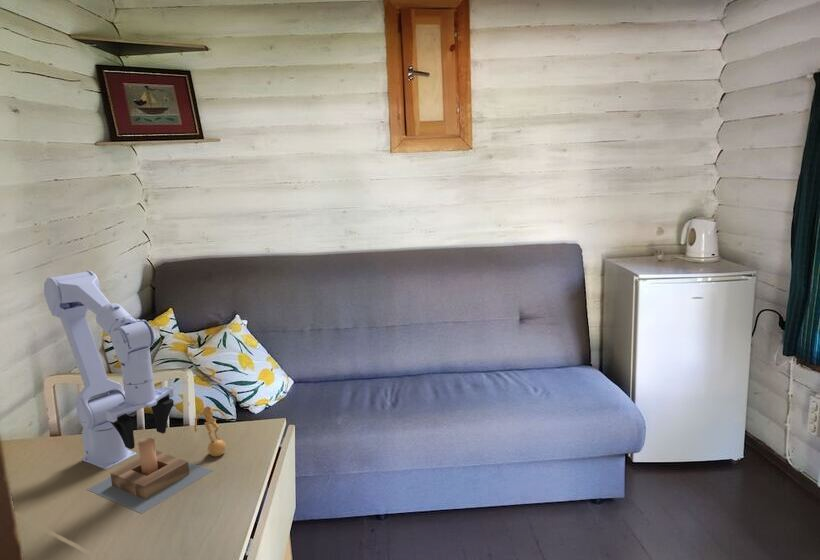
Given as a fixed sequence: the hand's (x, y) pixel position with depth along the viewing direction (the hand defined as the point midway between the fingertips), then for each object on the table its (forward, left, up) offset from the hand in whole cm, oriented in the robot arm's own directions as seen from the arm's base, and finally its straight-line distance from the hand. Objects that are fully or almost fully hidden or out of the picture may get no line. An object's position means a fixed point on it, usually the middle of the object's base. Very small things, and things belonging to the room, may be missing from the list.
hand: (146, 439), depth 127 cm
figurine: (+3, +15, -10) cm, 18 cm away
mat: (0, 0, -10) cm, 10 cm away
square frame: (0, 0, -9) cm, 9 cm away
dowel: (0, 0, -9) cm, 9 cm away
